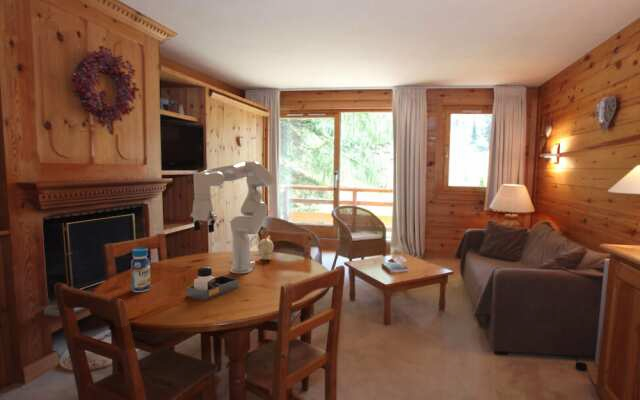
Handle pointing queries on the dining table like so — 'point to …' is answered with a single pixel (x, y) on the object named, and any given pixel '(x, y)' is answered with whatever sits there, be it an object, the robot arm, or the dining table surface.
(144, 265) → the beverage bottle
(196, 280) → the medicine bottle
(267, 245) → the kitten
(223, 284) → the rack
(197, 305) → the dining table surface
